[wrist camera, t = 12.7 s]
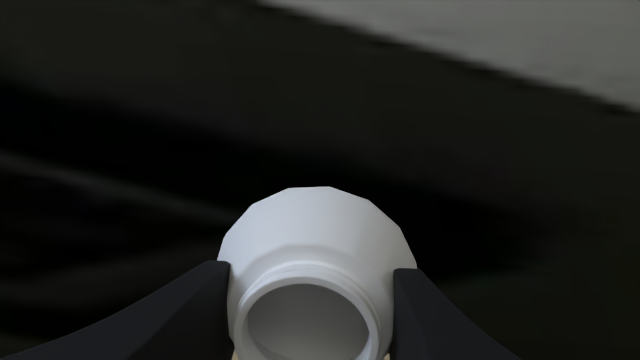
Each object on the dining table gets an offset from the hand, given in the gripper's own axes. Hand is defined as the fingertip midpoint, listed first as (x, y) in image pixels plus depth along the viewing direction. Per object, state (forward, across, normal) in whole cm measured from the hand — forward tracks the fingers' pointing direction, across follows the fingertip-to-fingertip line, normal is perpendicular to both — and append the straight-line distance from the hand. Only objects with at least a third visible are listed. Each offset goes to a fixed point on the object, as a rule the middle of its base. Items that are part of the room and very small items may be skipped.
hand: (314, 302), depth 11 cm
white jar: (+2, 0, 0) cm, 2 cm away
